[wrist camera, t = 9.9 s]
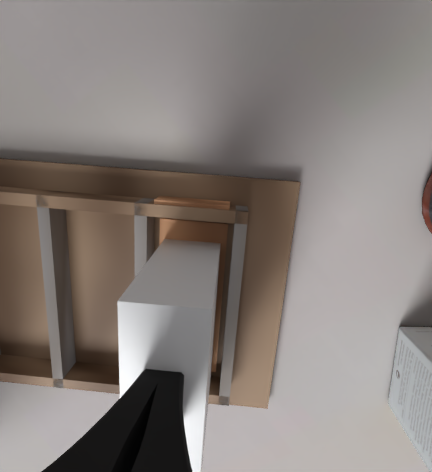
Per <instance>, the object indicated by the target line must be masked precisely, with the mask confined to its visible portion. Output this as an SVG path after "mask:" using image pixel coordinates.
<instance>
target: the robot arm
mask: <svg viewBox="0 0 432 472" xmlns="http://www.w3.org/2000/svg"><path fill="white" fill-rule="evenodd" d="M183 391H184V375H183V374H182V372H173V371H163V370H153V369H145V370H144V371H143V372H142V373H141V374H140V375H139V377H138V378H137V379H136V380H135V381H134V383H133V384H132V385H131V386H130V387H129V389H128V390H127V391H126V392H125V393H124V394H123V396H122V397H121V398H120V399H119V400H118V401H117V402H116V403H115V404H114V405H113V406H112V408H111V409H110V410H109V411H108V412H107V413H106V414H105V415H104V416H103V417H102V418H101V419H100V420H99V421H98V422H97V423H96V424H95V425H94V426H93V427H92V428H91V429H90V430H89V431H88V432H87V433H86V434H85V435H84V436H83V437H82V438H81V439H79V440H78V441H77V442H76V443H75V444H74V445H73V446H72V447H71V448H69V449H68V450H67V451H66V452H65V453H64V454H63V455H61V456H60V457H59V458H58V459H57V460H56V461H54V462H53V463H52V464H51V465H49V466H48V467H47V468H46V469H44V470H43V471H42V472H192V468H191V463H190V458H189V453H188V447H187V441H186V434H185V427H184V417H183Z"/></svg>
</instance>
